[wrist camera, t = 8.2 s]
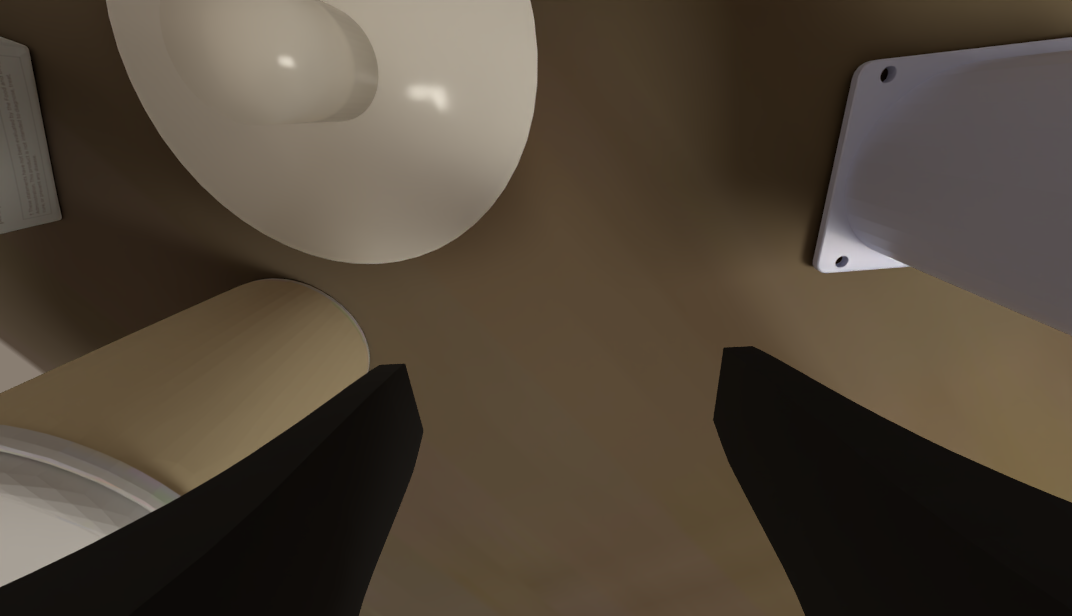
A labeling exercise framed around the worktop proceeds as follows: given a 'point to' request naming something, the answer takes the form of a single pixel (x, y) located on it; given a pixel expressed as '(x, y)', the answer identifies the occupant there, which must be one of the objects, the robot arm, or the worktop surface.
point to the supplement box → (23, 146)
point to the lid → (339, 112)
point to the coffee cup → (163, 413)
